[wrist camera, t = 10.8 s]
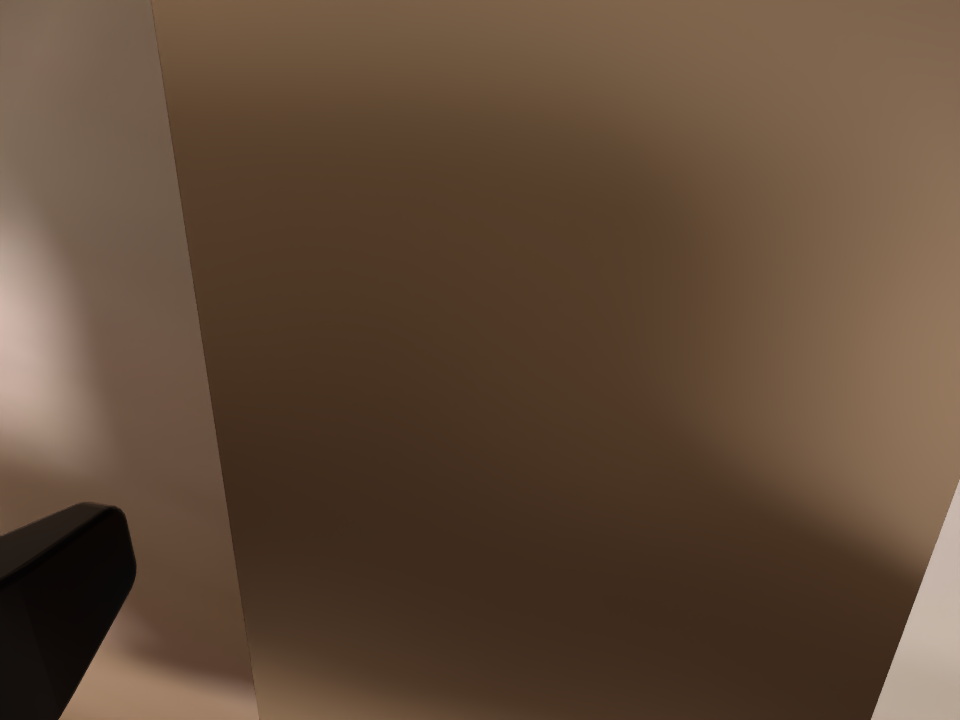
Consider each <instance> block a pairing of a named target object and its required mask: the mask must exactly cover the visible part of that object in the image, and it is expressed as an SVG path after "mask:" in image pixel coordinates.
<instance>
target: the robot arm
mask: <svg viewBox="0 0 960 720" xmlns="http://www.w3.org/2000/svg"><path fill="white" fill-rule="evenodd" d="M135 576H136V559H135V555H134V551H133V546H132V542H131V537H130V533H129V528H128V524H127V520H126V516H125V514H124V513H123V511H122V510H121V509H120V508H118V507H116V506H112V505H106V504H100V503H94V502H81V503H78V504H75V505H73V506H71V507H68V508H66V509H64V510H61V511H59V512H57V513H54V514H52V515H49V516H47V517H45V518H42V519H40V520H38V521H35V522H33V523H31V524H28V525H26V526H23V527H21V528H19V529H16V530H14V531H12V532H9V533H7V534H5V535H2V536H0V720H58V719H59V718H60V716H61V715H62V713H63V711H64V709H65V708H66V706H67V704H68V703H69V701H70V699H71V698H72V696H73V694H74V692H75V691H76V689H77V687H78V685H79V683H80V681H81V680H82V678H83V676H84V674H85V672H86V671H87V669H88V667H89V665H90V663H91V661H92V660H93V658H94V656H95V654H96V652H97V651H98V649H99V647H100V645H101V643H102V641H103V640H104V638H105V636H106V634H107V632H108V630H109V629H110V627H111V625H112V623H113V621H114V620H115V618H116V616H117V614H118V612H119V610H120V609H121V607H122V605H123V603H124V601H125V600H126V598H127V596H128V594H129V592H130V590H131V588H132V586H133V583H134V580H135Z"/></svg>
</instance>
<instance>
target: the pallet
mask: <svg viewBox="0 0 960 720" xmlns="http://www.w3.org/2000/svg"><path fill="white" fill-rule="evenodd" d="M151 4H152V11H153V18H154V24H155V31H156V37H157V44H158V51H159V57H160V64H161V71H162V77H163V84H164V90H165V97H166V104H167V110H168V117H169V124H170V130H171V137H172V144H173V150H174V157H175V163H176V170H177V177H178V183H179V190H180V197H181V203H182V210H183V216H184V223H185V230H186V236H187V243H188V250H189V256H190V263H191V269H192V276H193V283H194V289H195V296H196V303H197V309H198V316H199V323H200V329H201V336H202V342H203V349H204V356H205V362H206V369H207V376H208V382H209V389H210V395H211V402H212V409H213V415H214V422H215V429H216V435H217V442H218V448H219V455H220V462H221V468H222V475H223V482H224V488H225V495H226V502H227V508H228V515H229V521H230V528H231V535H232V541H233V548H234V555H235V561H236V568H237V574H238V581H239V588H240V594H241V601H242V608H243V614H244V621H245V627H246V634H247V641H248V647H249V654H250V661H251V667H252V674H253V681H254V687H255V694H256V700H257V707H258V714H259V720H871V717H872V715H873V712H874V709H875V707H876V704H877V701H878V698H879V696H880V693H881V690H882V688H883V685H884V682H885V680H886V677H887V674H888V671H889V669H890V666H891V663H892V661H893V658H894V655H895V652H896V650H897V647H898V644H899V642H900V639H901V636H902V634H903V631H904V628H905V625H906V623H907V620H908V617H909V615H910V612H911V609H912V607H913V604H914V601H915V598H916V596H917V593H918V590H919V588H920V585H921V582H922V579H923V577H924V574H925V571H926V569H927V566H928V563H929V561H930V558H931V555H932V552H933V550H934V547H935V544H936V542H937V539H938V536H939V534H940V531H941V528H942V525H943V523H944V520H945V517H946V515H947V512H948V509H949V506H950V504H951V501H952V498H953V496H954V493H955V490H956V488H957V485H958V482H959V479H960V0H151Z"/></svg>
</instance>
